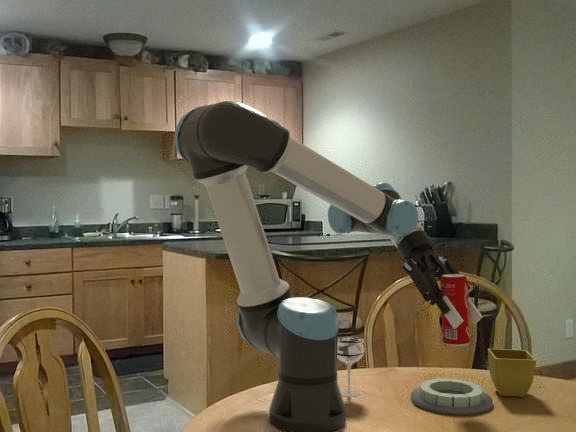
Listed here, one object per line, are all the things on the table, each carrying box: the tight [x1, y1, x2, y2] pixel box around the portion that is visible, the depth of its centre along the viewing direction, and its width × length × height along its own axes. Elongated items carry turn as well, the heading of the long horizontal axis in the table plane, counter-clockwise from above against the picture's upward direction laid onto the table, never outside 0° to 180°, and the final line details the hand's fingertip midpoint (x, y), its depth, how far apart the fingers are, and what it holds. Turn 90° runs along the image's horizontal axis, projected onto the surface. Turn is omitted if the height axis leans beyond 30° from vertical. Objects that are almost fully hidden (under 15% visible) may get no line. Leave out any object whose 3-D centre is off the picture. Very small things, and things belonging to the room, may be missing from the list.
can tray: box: [410, 378, 493, 416], centre depth 143 cm, size 17×17×3 cm
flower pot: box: [487, 348, 537, 398], centre depth 149 cm, size 9×9×9 cm
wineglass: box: [337, 336, 365, 398], centre depth 148 cm, size 7×7×12 cm
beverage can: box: [439, 273, 471, 347], centre depth 143 cm, size 6×6×15 cm
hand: (468, 322), depth 140 cm, fingers closed on beverage can, 6 cm apart
